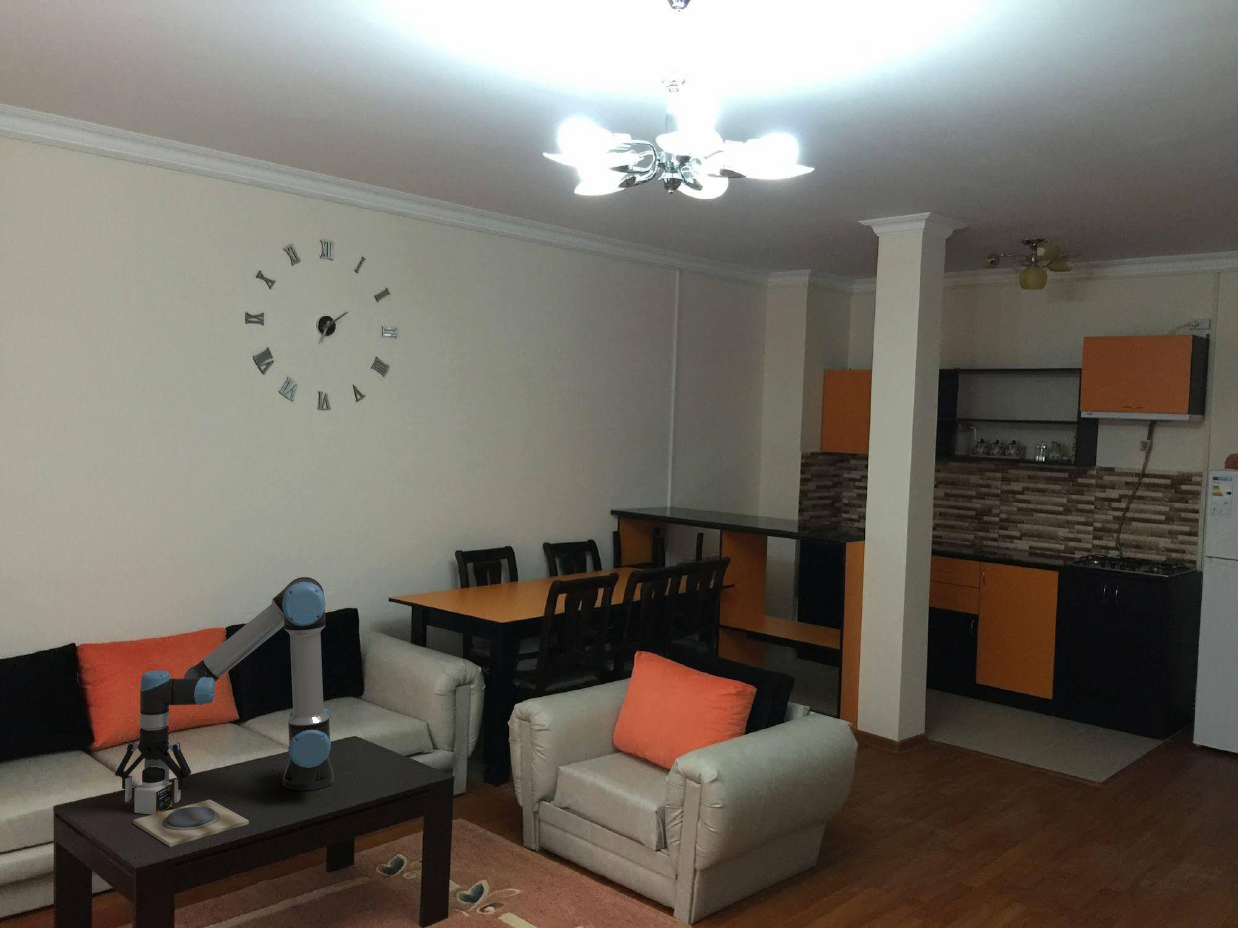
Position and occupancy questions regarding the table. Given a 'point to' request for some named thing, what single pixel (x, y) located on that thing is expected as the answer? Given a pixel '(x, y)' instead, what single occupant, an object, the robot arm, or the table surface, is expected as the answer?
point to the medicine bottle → (153, 792)
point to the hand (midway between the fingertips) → (152, 800)
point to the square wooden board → (190, 822)
